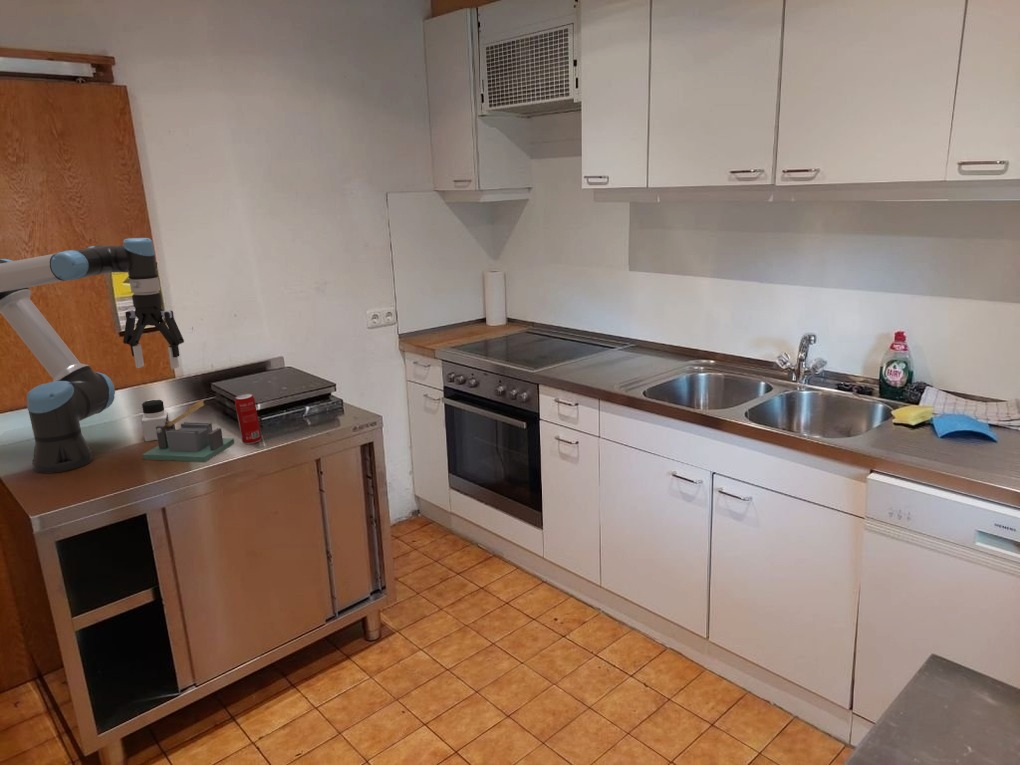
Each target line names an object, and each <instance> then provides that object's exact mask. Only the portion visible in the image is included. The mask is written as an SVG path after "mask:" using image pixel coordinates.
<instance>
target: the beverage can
mask: <svg viewBox="0 0 1020 765" xmlns="http://www.w3.org/2000/svg"><path fill="white" fill-rule="evenodd" d="M234 399H235V400H234V405H235V406H234V407H235V409H236V416H237V421H238V427H239V430H240V438H241V441H242V443H243V444H245V445H246V444H247V445H251V444H256V443H259V442H260V441H261V440H262V433H261V428H260V422H259V417H258V412H257V406H256V400H255V397H254V395H253V394H252V393H241V394H238V395H236V396H235V398H234Z"/></svg>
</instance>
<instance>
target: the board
mask: <svg viewBox="0 0 1020 765" xmlns="http://www.w3.org/2000/svg"><path fill="white" fill-rule="evenodd" d="M171 421H172V420H171ZM171 421H170V420H169V421H166V422H165V425H166V424H168V423H169V422H171ZM212 425H213V424H212V422H195V421H194V422H193V421H184V422H183V423H180V427H179V428H178V429H176V425H175V424H173V425H172V426H170V427H169V428H167V429H165V426H156V432H157V438H158V440H157V444H158V445H157V446H155V447H153V448H151V449H150V450H147V452H144V453H142V459H143V460H152V461H154V460H155V461H170V462H171V461H172V460H175V461H174V462H193V461H198V462H199V463H206V462H207V461H209V460H210V459H212V458H213V456H214V457H216V454H217V455H218V454H220V453H221V452H223V451H224V450H226V449H227V448H229V447H231V446H232V445H234V444H235V438H227V437H226V438H225V437H223V433H222V432H223V431H222V427H221V428H220V427H219V428H218V427H217V428H215V429H213V426H212ZM166 432H167V435H166Z"/></svg>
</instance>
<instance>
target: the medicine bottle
mask: <svg viewBox="0 0 1020 765" xmlns="http://www.w3.org/2000/svg"><path fill="white" fill-rule="evenodd" d="M141 407H142V412H143V415H142V418H141V426H142V433H143V439H144V441H145V442H152V441H158V438H157V432H156V426H165V422H166V421H170V419H169V415H168V411H165V406H164V401H163V400H161V399H158V398H157V399H156V398H155V399H148V400H146V401H144V402H143V403H142V404H141ZM166 435H167V432H166Z"/></svg>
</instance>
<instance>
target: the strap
mask: <svg viewBox="0 0 1020 765" xmlns="http://www.w3.org/2000/svg"><path fill="white" fill-rule="evenodd" d="M204 402H205V401H204V399H201V400H199V401H197V402H196V403H194V404H192V405H190V406H189V407H188V410H187V411H185V412H183V413H182V414H180V415H179V416H177V417H176V418H175V419H172V420H171V422H169V423H168V424H166V425H165V429H167V428H169V427H170V426H172V425H173V424H174V425H175V424H176V423H178V422H180V421H182V420H183V419H184V418H186V417H188V416H189V415H191V414H192V413H194V412H196V411H197V410H198V409H201V408H202V407H203V406H205V404H204Z"/></svg>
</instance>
